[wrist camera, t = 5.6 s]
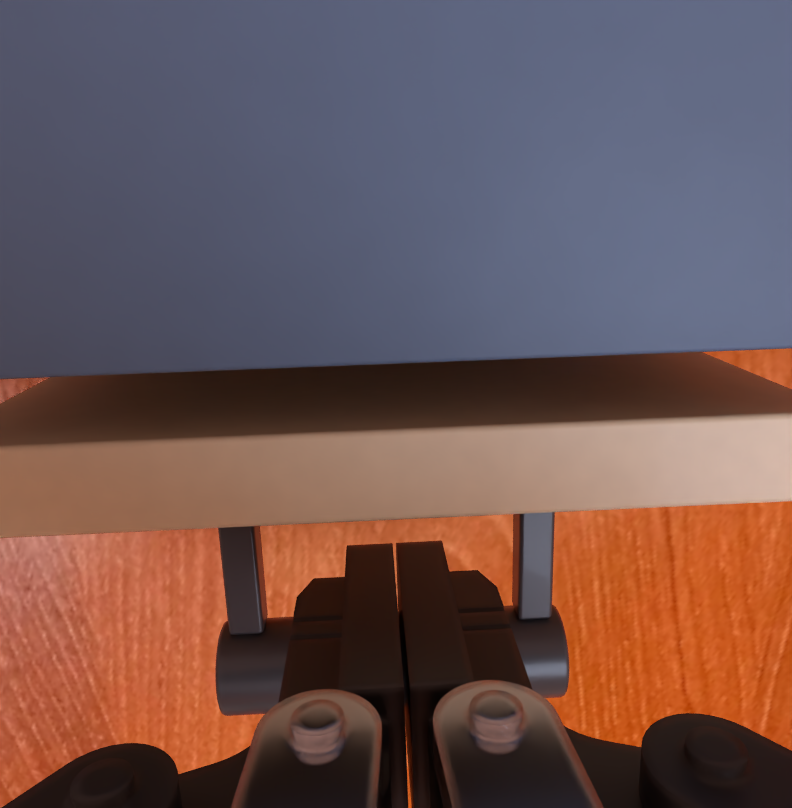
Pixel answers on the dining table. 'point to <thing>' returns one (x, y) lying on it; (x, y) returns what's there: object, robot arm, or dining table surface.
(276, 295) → the cabinet
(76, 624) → the dining table surface
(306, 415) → the drawer
